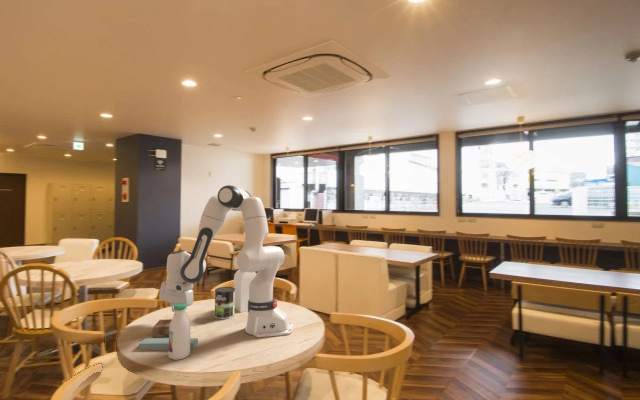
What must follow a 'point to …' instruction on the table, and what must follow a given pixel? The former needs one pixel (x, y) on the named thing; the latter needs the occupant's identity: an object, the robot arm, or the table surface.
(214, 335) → the table surface
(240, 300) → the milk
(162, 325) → the block
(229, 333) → the table surface
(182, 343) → the milk bottle
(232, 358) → the table surface
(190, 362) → the table surface
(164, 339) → the board
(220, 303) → the coffee can
